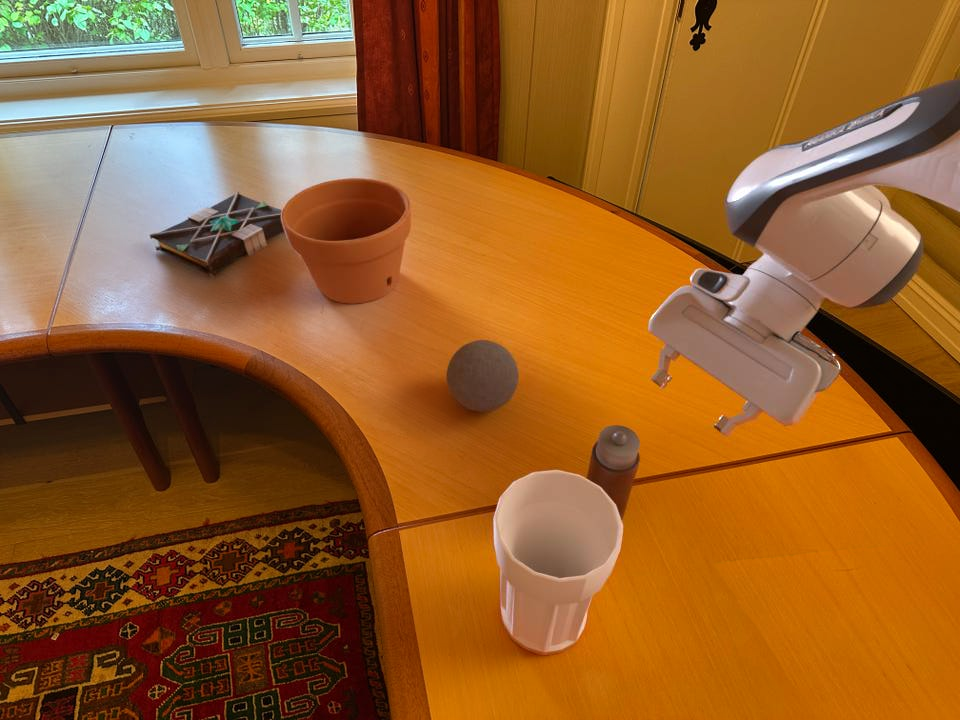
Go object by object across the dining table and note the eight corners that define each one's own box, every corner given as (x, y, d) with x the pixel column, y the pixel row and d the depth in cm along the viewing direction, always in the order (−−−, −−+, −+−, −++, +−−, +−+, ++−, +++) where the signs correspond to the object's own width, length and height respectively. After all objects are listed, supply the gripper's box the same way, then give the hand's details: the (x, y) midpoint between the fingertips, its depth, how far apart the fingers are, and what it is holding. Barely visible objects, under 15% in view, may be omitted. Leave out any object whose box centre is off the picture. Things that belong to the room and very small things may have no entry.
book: (212, 279, 109) (203, 255, 106) (153, 251, 116) (144, 228, 113) (299, 227, 123) (294, 205, 120) (242, 205, 130) (236, 183, 126)
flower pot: (363, 333, 99) (350, 255, 89) (273, 291, 107) (252, 216, 97) (439, 271, 112) (435, 197, 102) (353, 238, 120) (342, 167, 110)
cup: (569, 550, 70) (588, 456, 58) (615, 645, 62) (648, 558, 50) (476, 579, 67) (476, 486, 55) (512, 682, 59) (521, 600, 48)
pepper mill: (632, 513, 74) (656, 437, 64) (603, 537, 71) (623, 461, 61) (600, 486, 77) (618, 408, 67) (571, 508, 74) (585, 431, 64)
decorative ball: (509, 373, 92) (511, 322, 85) (523, 422, 84) (527, 370, 78) (443, 380, 90) (440, 329, 84) (452, 431, 83) (450, 379, 76)
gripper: (852, 369, 65) (768, 467, 68) (700, 280, 78) (634, 366, 80) (847, 354, 60) (757, 461, 63) (685, 262, 73) (615, 354, 75)
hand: (687, 407), depth 71 cm, fingers open, 8 cm apart
